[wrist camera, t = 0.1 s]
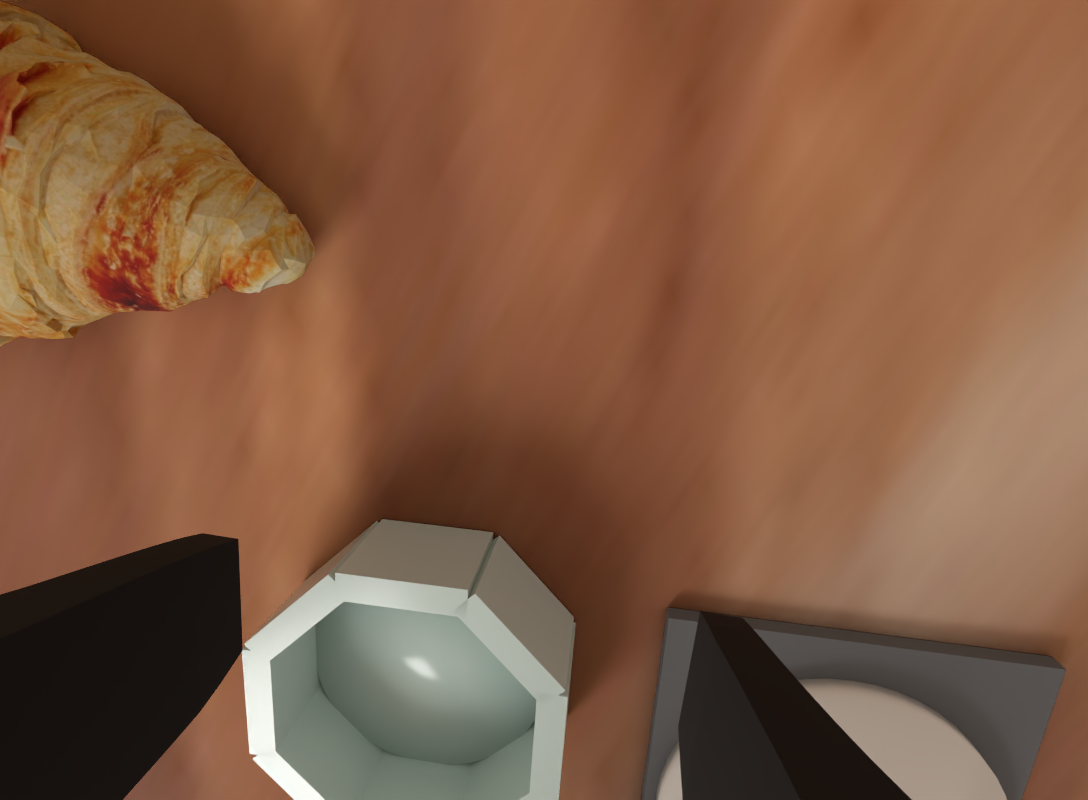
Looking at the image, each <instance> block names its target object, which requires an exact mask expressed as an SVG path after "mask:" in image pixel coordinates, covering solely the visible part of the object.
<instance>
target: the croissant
mask: <svg viewBox="0 0 1088 800" xmlns="http://www.w3.org/2000/svg"><path fill="white" fill-rule="evenodd" d="M314 256H315V248H314V245H313V243H312V241H311V239H310V236H309V234H308V232H307V231H306V229H305V227H304V226H303V224H302V223H301V221H300V220H299V218H298V217H297V215H296V214H289V212H288V210H287V208H286V206H285V205H284V203H283V202H282V200H281V199H280V198H279V197H278V195H277V194H275V193H274V192H273V191H272V190H270V189H269V188H268V187H266V186H265V185H264V184H263V183H262V182H261V181H260V180H259V179H257V178H256V177H255V176H254V175H253V174H252V173H251V172H250V171H249V170H248V169H247V168H246V167H245V166H244V165H243V164H242V163H241V161H240V160H239V159H238V158H237V156H236V155H235V154H234V152H233V151H232V150H231V149H230V148H229V147H228V146H227V145H226V144H225V143H224V142H223V141H222V140H221V139H220V138H218V137H217V136H215V135H213V134H212V133H210V132H209V131H207V130H206V129H204V128H203V127H202V126H201V125H200V124H198V123H196V122H195V121H194V120H193V119H192V118H191V117H190V116H189V114H188V113H187V112H186V111H185V110H184V109H183V107H182V106H181V105H180V104H178V103H177V102H175V101H174V100H172V99H171V98H169V97H167V96H166V95H164V94H163V93H161V92H159V91H158V90H157V89H155V88H154V87H153V86H152V85H151V84H149V83H148V82H147V81H145V80H143V79H141V78H139V77H138V76H136V75H134V74H132V73H130V72H123V71H118V70H116V69H113V68H111V67H109V66H108V65H106V64H105V63H103V62H102V61H100V60H99V59H97V58H96V57H94V56H92V55H90V54H88V53H85V52H82V50H81V48H80V46H79V45H78V44H77V42H76V41H75V40H74V39H73V37H72V36H71V35H70V34H69V33H67V32H65V31H64V30H62V29H61V28H59V27H58V26H57V25H55V24H54V23H52V22H50V21H48V20H47V19H45V18H43V17H41V16H40V15H38V14H36V13H33V12H30V11H28V10H25V9H22V8H20V7H17V6H14V5H11V4H9V3H6V2H3V1H0V346H2V345H3V344H5V343H7V342H10V341H12V340H14V339H16V338H18V337H27V338H46V339H61V338H74V336H75V335H76V333H77V332H78V331H79V330H80V329H81V328H83V327H84V326H86V325H87V323H90V322H93V321H95V320H99V319H101V318H103V317H106V316H108V315H111V314H113V313H117V312H127V311H140V310H146V311H173V310H175V309H177V308H179V307H181V306H184V305H187V304H188V303H190V302H192V301H194V300H197V299H203V298H208V297H209V295H210V294H211V293H214V292H216V291H217V290H218V289H219V288H220V287H221V286H222V285H224V286H227V287H228V288H229V289H230V290H232V291H238V292H243V293H253V292H260V291H261V290H263V289H266V288H269V287H272V286H276V285H279V284H288V283H290V282H292V281H294V280H296V279H297V278H299V277H301V276H303V275H304V273H305V271H306V268H307V266H308V264H309V263H310V262H311V261H312V259H313V258H314Z"/></svg>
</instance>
